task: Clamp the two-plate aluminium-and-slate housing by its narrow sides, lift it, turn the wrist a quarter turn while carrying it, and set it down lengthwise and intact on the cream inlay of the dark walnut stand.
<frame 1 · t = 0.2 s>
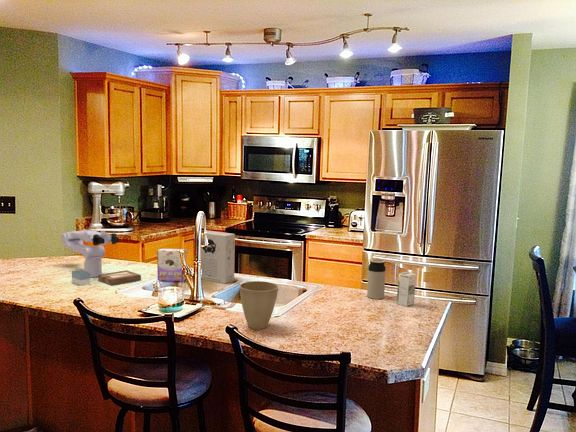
hand: (111, 240, 255), 21 cm above the counter, tool horizontal, fingers open, 7 cm apart
syrup box: (405, 304, 232), on the counter
plant pot: (258, 326, 197), on the counter
travel mug: (375, 297, 243), on the counter
cereal box: (213, 279, 269), on the counter
stand: (119, 280, 261), on the counter
housing: (81, 283, 253), on the counter
candy box: (171, 280, 264), on the counter
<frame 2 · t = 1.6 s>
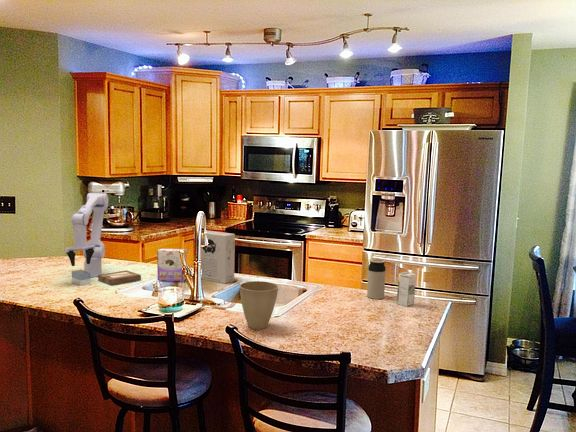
hand: (80, 264, 252), 9 cm above the counter, tool pointing down, fingers open, 7 cm apart
nothing on the counter moved.
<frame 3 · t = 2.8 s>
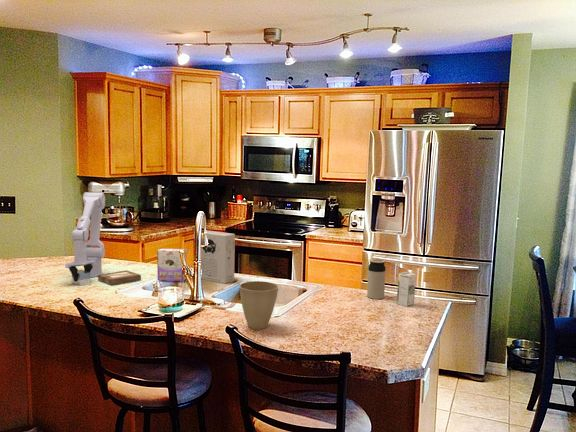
hand: (81, 280, 253), 2 cm above the counter, tool pointing down, fingers closed on housing, 5 cm apart
housing: (81, 283, 253), on the counter, touching gripper
everything else where it was.
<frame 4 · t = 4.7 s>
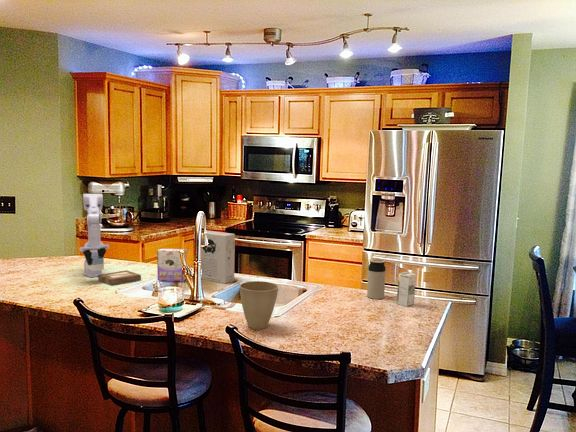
hand: (94, 264, 255), 9 cm above the counter, tool pointing down, fingers closed on housing, 5 cm apart
housing: (94, 268, 255), point 7 cm above the counter, touching gripper
everything else where it was.
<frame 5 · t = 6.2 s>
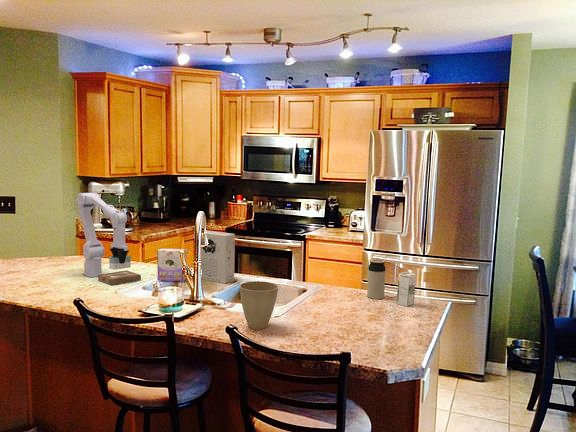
hand: (119, 262, 260), 9 cm above the counter, tool pointing down, fingers closed on housing, 5 cm apart
housing: (120, 267, 260), point 7 cm above the counter, touching gripper
everything else where it was.
when the fingers open (6 cm above the counter, at t = 7.5 s): housing stays where it is, resting on stand.
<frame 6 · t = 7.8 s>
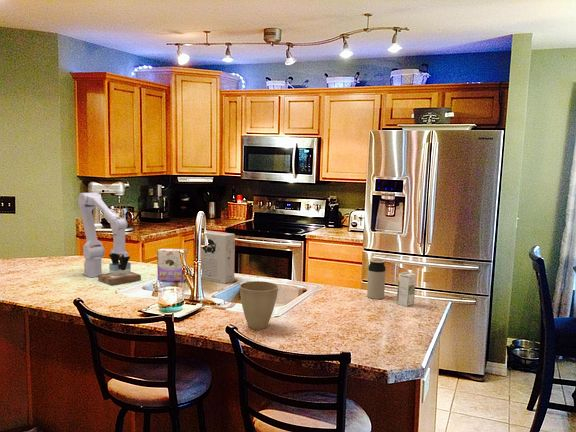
hand: (119, 268, 260), 6 cm above the counter, tool pointing down, fingers open, 7 cm apart
housing: (120, 274, 261), point 3 cm above the counter, touching stand
everything else where it was.
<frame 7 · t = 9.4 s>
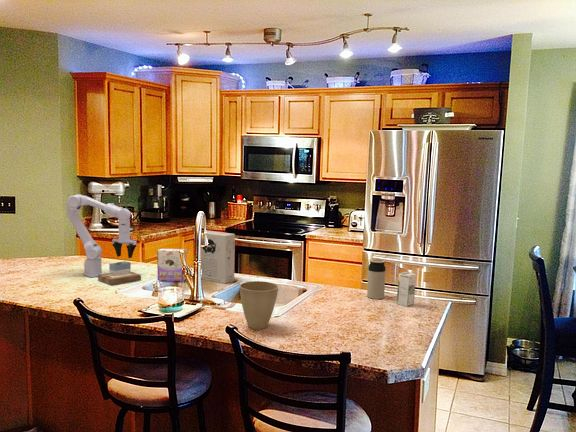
hand: (124, 257, 271), 10 cm above the counter, tool pointing down, fingers open, 7 cm apart
nothing on the counter moved.
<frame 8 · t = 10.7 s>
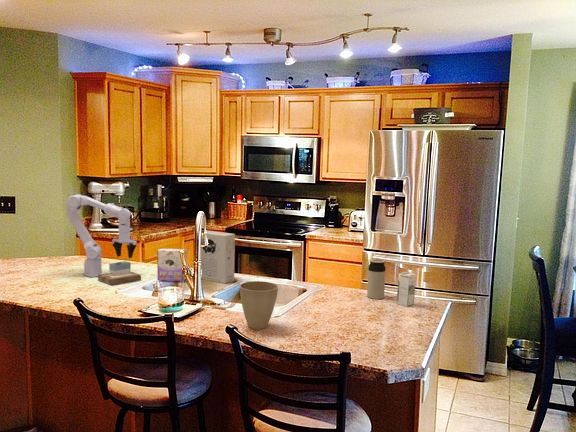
hand: (124, 257, 272), 10 cm above the counter, tool pointing down, fingers open, 7 cm apart
nothing on the counter moved.
at the end: housing 0.3 cm off-centre on the stand, point 3.0 cm above the stand's base; housing tilted 0°; the gripper is holding nothing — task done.
